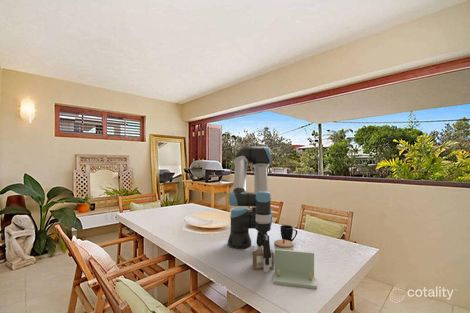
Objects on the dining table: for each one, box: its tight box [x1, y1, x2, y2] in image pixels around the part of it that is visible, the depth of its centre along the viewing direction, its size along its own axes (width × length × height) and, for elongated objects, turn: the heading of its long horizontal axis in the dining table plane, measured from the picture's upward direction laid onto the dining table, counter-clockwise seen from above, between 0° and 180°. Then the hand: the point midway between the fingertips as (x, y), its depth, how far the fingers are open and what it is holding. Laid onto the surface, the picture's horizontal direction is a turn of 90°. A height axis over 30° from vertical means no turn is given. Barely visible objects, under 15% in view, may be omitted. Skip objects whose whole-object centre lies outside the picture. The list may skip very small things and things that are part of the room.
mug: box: [279, 224, 298, 242], centre depth 152 cm, size 8×12×10 cm
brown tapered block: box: [252, 249, 275, 271], centre depth 115 cm, size 10×4×8 cm, turn 97°
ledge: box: [273, 248, 318, 290], centre depth 103 cm, size 18×11×11 cm, turn 77°
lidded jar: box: [273, 239, 294, 251], centre depth 128 cm, size 11×11×9 cm
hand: (263, 264), depth 114 cm, fingers open, 13 cm apart
